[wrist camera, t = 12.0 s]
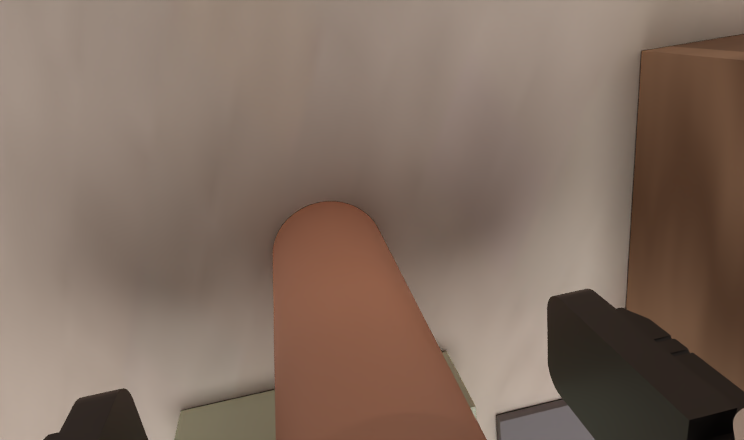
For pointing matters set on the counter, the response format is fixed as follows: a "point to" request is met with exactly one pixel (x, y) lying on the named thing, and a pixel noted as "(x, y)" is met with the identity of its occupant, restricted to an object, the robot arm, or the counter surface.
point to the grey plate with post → (542, 424)
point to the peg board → (250, 416)
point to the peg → (355, 339)
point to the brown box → (691, 199)
